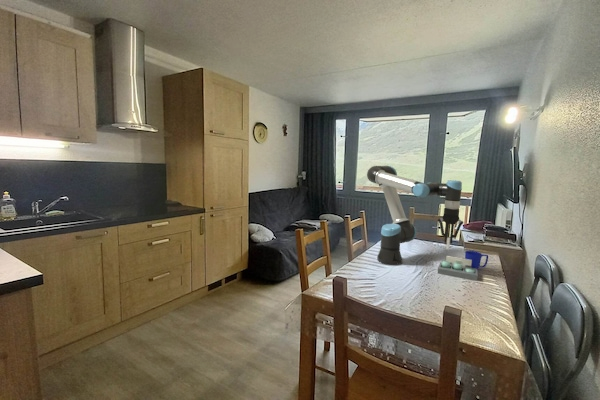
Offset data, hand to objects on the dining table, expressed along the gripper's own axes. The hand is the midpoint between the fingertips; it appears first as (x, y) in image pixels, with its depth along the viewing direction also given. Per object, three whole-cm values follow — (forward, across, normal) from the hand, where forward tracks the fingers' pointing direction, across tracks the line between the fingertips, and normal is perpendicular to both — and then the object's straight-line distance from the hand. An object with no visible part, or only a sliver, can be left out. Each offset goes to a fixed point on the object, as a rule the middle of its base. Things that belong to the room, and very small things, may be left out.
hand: (447, 248), depth 159 cm
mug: (+14, +15, +13) cm, 24 cm away
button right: (+13, +12, -1) cm, 18 cm away
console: (+14, +6, -1) cm, 15 cm away
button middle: (+11, +6, -1) cm, 13 cm away
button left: (+11, 0, 0) cm, 11 cm away
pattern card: (+14, +6, +7) cm, 17 cm away
